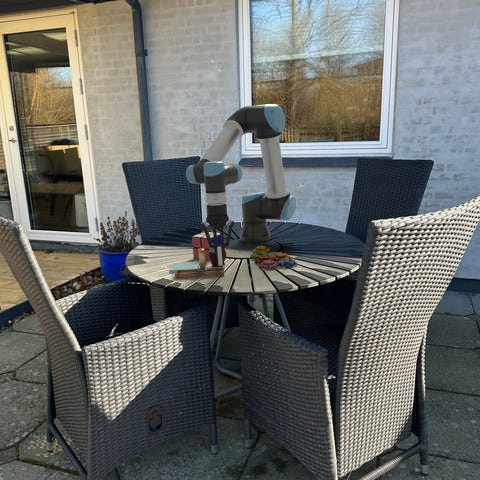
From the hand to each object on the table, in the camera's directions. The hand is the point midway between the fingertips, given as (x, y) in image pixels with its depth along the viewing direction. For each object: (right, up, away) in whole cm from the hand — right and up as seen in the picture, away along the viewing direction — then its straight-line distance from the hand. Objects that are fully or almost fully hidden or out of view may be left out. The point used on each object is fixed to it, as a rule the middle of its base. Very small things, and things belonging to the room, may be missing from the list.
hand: (220, 264), depth 174 cm
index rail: (-8, -4, +1) cm, 9 cm away
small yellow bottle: (-7, -3, +1) cm, 7 cm away
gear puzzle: (+21, +1, +18) cm, 28 cm away
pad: (-15, -2, +11) cm, 18 cm away
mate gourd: (-2, -2, +12) cm, 12 cm away
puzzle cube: (-6, +2, +26) cm, 27 cm away
